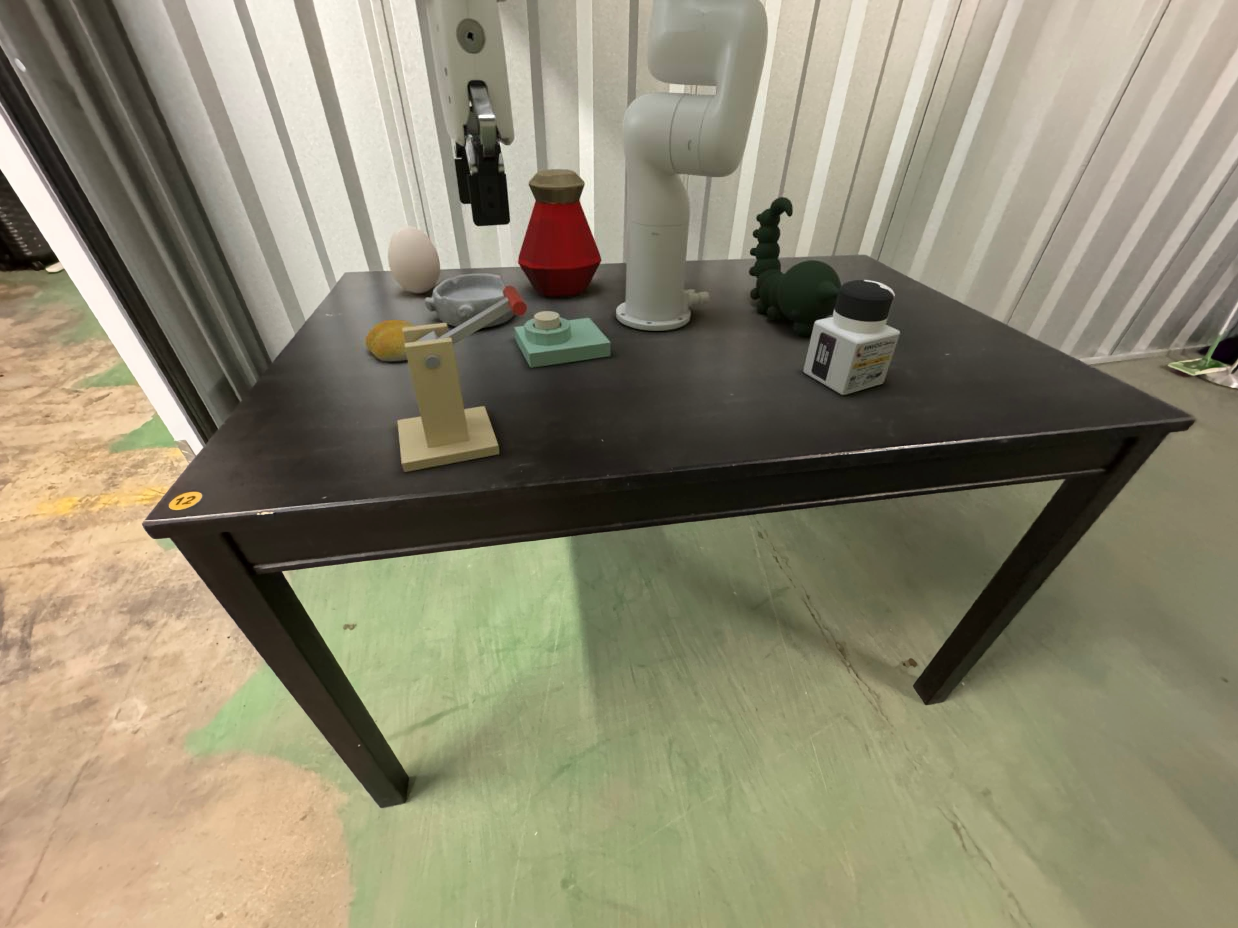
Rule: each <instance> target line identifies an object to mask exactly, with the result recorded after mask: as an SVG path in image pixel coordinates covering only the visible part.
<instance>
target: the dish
mask: <svg viewBox="0 0 1238 928" xmlns="http://www.w3.org/2000/svg"><path fill="white" fill-rule="evenodd" d="M505 287H506V284H505V282H504V280H503V278H502V276H501V275H498V274H494V273H468V274H459V275H457V276H455V277H450V278H447V279H445V280H443V281H441V282H440V283H439V284H438V285H437V286H435V288H434V289H433V290H432V295H431V297H425V298H424V304H425V308H426V309H427V310H429V312H436V315H437V317H438V318H439V320H440V321H441V322H442V323H447V325H449V326H453V327H455V328H456V327H458V326H459V325H461V324H463V323H464V322H466V321H468V320H469V319H471V318H473V317H474V316H476V315H478V314H479V313H481V312H483V311H484V310H486V309H488V308H489V307H491V306H493V305H494V304H496V303H498V302H499V301H501V300H503V299H504V298H505V297H504V295H503V290H504V288H505ZM514 315H515V314H514V312H513V311H512V310H511V311H509V312H507V313H506V314H504V315H502V316H501V317H499V318H497V319H496V320H494V321H492V322H491V323H489V324H487V325H486V326H484V327H482V328H481V329H483V328H489V327H495V326H499V325H501V324H504V323H506V322H508V321H509V320H511V319H512V318H513V317H514Z"/></svg>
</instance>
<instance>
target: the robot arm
mask: <svg viewBox="0 0 1238 928" xmlns="http://www.w3.org/2000/svg"><path fill="white" fill-rule="evenodd" d="M507 1H508V0H424V2H425V10H426V17H427V22H428V23H427V25H428V30H429V37H430V44H431V50H432V51H431V52H432V57H433V64H434V71H435V77H436V83H437V88H438V94H439V100H440V105H441V110H442V114H443V115H442V116H443V119H444V123H445V128H446V132H447V134H448V136H449V137H450V138H451V139H452V140H453V149H454V151H453V152H454V156H455V158H453V161H454V163H453V164H454V170H455V176H456V177H455V178H456V185H457V190H458V199H459V202H461V204H463V205H470V210H471V216H472V222H473V224H474V225H475V226H476V227H491V226H492V227H493V226H505V225H506V226H507V225H509V224H510V222H511V213H510V212H511V211H510V202H509V201H510V200H509V189H508V180H507V173H506V169H505V162H504V157H503V151H502V147H501V144H502V145H504V146H511V145H512V144H513V142H514V140H515V129H514V119H513V110H512V109H513V108H512V102H511V92H510V83H509V76H508V74H509V73H508V67H507V57H506V49H505V43H504V34H503V29H502V28H503V27H502V21H501V15H500V10H499V5H498V3H504V2H507ZM651 7H652V9H651V14H650V22H649V27H648V33H647V42H646V57H645V58H646V65H647V69H648V71H649V73H650V75H651V76H652V77H653V78H654V79H656V80H657V81H659V82H662V83H664V84H670V85H679V86H680V85H683V86H701V87H702V86H703V87H716V88H717V89H716V93H715V94H699V93H698V94H697V93H696V94H695V93H694V94H692V93H688V92H687V93H685V92H668V91H667V92H665V91H664V92H662V91H661V92H660V91H659V92H650V93H645V94H642V95H640V96H638V97H636V98H635V99H634V100H633V101H631V102H630V104H629V105H628V107H627V109H626V110H625V112H624V115H623V119H622V126H621V138H622V147H623V154H624V163H625V168H626V180H627V181H626V183H627V215H626V216H627V217H626V226H627V227H626V258H625V259H626V262H625V298H624V299H625V300H624V302H621V304H619V305H618V306H616V309H615V317H616V319H617V321H618V322H620V323H621V324H622V325H624V326H626V327H629V328H632V329H636V330H641V331H647V332H649V331H651V332H662V331H671V330H676V329H679V328H682V327H685V326H686V325H687V324H688V323H689V322H690V321H691V315H692V314H691V313H692V312H691V310H690V309H689V308H691V307H693V305H703V304H708V303H709V301H710V294H709V292H708V291H699V292H696V290H695V289H694V288H692V289H685V288H684V287H685V275H686V266H687V255H688V254H687V253H688V243H689V242H688V241H689V232H690V231H689V230H690V220H691V202H690V197H689V194H688V191H687V188H686V186H685V184H684V182H683V180H682V178H681V175H689V176H699V177H706V178H707V177H708V178H725V177H728V176H731V175H733V174H734V173H735V172H736V170H737V169H738V167H739V166H740V164H741V162H742V160H743V157H744V154H745V151H746V147H747V143H748V139H749V134H750V130H751V126H752V120H753V117H754V111H755V107H756V102H757V99H758V93H759V88H760V84H761V80H762V75H763V70H764V66H765V60H766V55H767V47H768V41H769V40H768V38H769V25H768V16H767V11H766V8H765V6H764V4H763V3H762V2H761V0H653V1H652V6H651ZM470 104H471V105H470Z"/></svg>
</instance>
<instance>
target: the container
mask: <svg viewBox="0 0 1238 928" xmlns="http://www.w3.org/2000/svg"><path fill="white" fill-rule="evenodd" d="M895 297H896V293H895V292H894V290H893V289H892V288H891V287H889V286H888V285H887V284H885V283H882V282H879V281H875V280H869V279H855V280H851V281H846V282H844V283H843V284H841V287H840V289H839V293H838V297H837V301H836V305H835V308H834V312H833V315H832V316H830V317H826V318H824V319H821V320H817V321H815V323H814V327H813V331H812V335H810V340H809V345H808V349H807V353H806V356H805V362H804V366H803V370H802V371H803V373H804V374H805V375H806V376H809V377H810V378H812V379H813V380H816V381H818V382H819V383H820V384H822V385H824V386H826V387H827V388H829V389H831V390H832V391H834V392H836V393H838V394H839V395H841V396H846V395H849V394H853V393H856V392H860V391H862V390H866V389H869V388H870V389H871V388H874V387H877V386H880V385H883V384H884V383H885V379H886V377H887V374H888V371H889V367H890V364H891V362H892V359H893V356H894V353H895V350H896V347H897V344H898V341H899V338H900V335H901V331H900V330H899V329H898V328H897V329H896V328H894V327H892V326H890V325H887V321H888V318H889V316H890V313H891V309H892V306H893V303H894V299H895Z"/></svg>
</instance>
